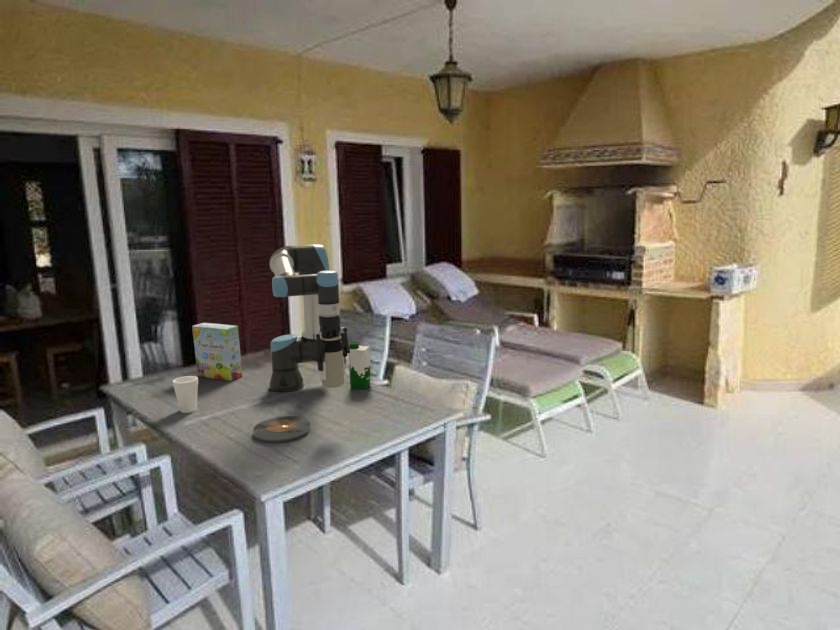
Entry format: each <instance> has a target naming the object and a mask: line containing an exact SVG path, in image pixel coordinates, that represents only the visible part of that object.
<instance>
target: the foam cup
mask: <svg viewBox="0 0 840 630" xmlns="http://www.w3.org/2000/svg"><path fill="white" fill-rule="evenodd" d="M198 377H199V376H195V375H188V376H187V375H186V376H184V375H183V376H179V377H177V378H176V377H175V378H174V379H173V380H172V387H173V389H174V393H175V398H176V400H177V405H178V408H179V411H180V413H181V414H182V413H183V414H188V413H193V412H196V411H197V410H198V390H199V389H198V388H199V387H198V386H199V378H198Z"/></svg>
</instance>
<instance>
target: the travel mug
mask: <svg viewBox="0 0 840 630" xmlns="http://www.w3.org/2000/svg"><path fill="white" fill-rule="evenodd" d="M340 339H341V336H340V334H339V336H338V337H332V338H330V339H325V338H322V336H321V341H322V342H323V343H326V342H327V344H326V346H325V357H324V361H323V362H325V364H326V380H323V379H321V386H322V387H324V388H329V389H335V388H339V387H342V386H343V385H344V384H345V374H344V368H343V348H342V344H341V343H342V342H340V341H341V340H340Z"/></svg>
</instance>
